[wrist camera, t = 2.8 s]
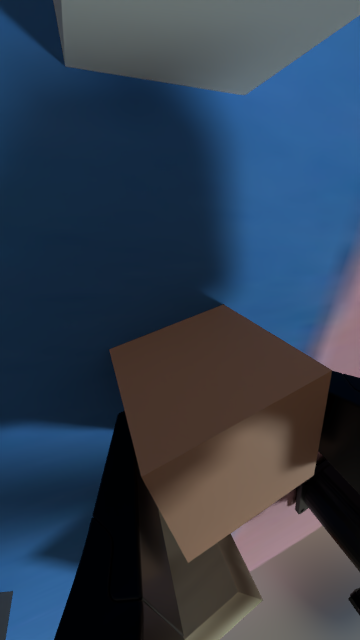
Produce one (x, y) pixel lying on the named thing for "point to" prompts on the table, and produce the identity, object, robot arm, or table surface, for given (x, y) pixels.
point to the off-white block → (196, 38)
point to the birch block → (210, 587)
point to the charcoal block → (4, 612)
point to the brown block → (219, 421)
